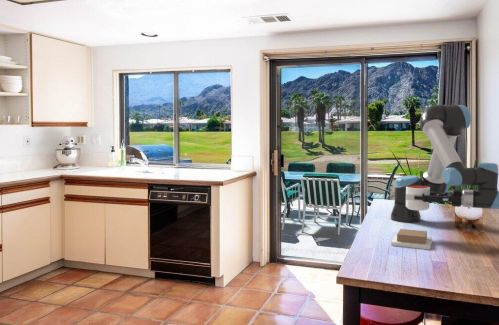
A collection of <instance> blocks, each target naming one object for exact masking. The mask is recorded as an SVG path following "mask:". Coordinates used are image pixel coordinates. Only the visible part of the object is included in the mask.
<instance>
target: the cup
mask: <svg viewBox="0 0 499 325" xmlns="http://www.w3.org/2000/svg"><path fill="white" fill-rule="evenodd" d="M407 194H421V195H422V194H424V195H430V187H426V186H407V187H406V195H407ZM406 207H407V208H408V209H410V210H419V212H421V211H427V210H429V209H430V202H423V201H415V200H406Z"/></svg>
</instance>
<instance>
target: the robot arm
mask: <svg viewBox="0 0 499 325" xmlns="http://www.w3.org/2000/svg"><path fill="white" fill-rule="evenodd" d="M471 116H472V115H471V112H470V110H469V108H468V107H467V106H466V105H462V104H433V105H431V106H428V107H427V108H425V109H424V110H423V112H422V113H421V115H420V118H419V125H420V126H419V127H420V129H421V131H422V133H423V134H424V135H426V136H427V138H428V139H429V141H430V143H431V146H432V148H433V150H432V154H431V156H430V157H431V158H430V160H429V161H430V162H429V164H428V168H427V170H426V171H424V172H423V174H422V177H419V175H415V174H414V175H413V174H412V175H401V176H397V177H396V179H395V180H394V204H393V208H392V210H391V212H390V219H391V220H393V221H395V222H401V223H418V222H420V221H422V220H421V217H422V216H421V212H420V210H410V209H408V208H407V207H406V200H415V201H423V202H429V203H449V202H451V207H457V208H458V207H459V208H460V207H463V208H467V209H471V208H474V209H487V210H488V209H489V210H492V209H493V210H495V209H496V210H499V190H498V182H499V180H498V179H499V165H498V164H497V163H495V162H479V163H478V165H477V167H466V166H465V165H464V163H463V161H462V160H461V158H460V156H459V154H458V153H457V151H456V149H455V143H456V140H457V137H459V136H461V135H462V133H463V130H466V129H469V127H470V126H471V121H472V117H471ZM407 186H426V187H430V195H424V194H422V195H421V194H407V195H406V187H407ZM449 186H452V187H453V186H454V187H459V186H460V187H461V186H477V187H476V188H477V189H463V190H462V189H458V188H457V189H456V188H455V189H454V188H453V189H452V190H451V193H449Z"/></svg>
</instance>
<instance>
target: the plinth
mask: <svg viewBox="0 0 499 325" xmlns="http://www.w3.org/2000/svg"><path fill="white" fill-rule="evenodd" d="M432 244H433V237H429V236H428V231H427V230H418V229H417V230H416V229H405V228H400V229H399V230H398V232H397V233H396V234H395V235H394V237H393V238H392V240H391V243H390V245H391V246H392V247H393V246H394V247H404V248H413V249H421V250H422V249H423V250H429V251H430V250H431V248H432Z"/></svg>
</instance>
